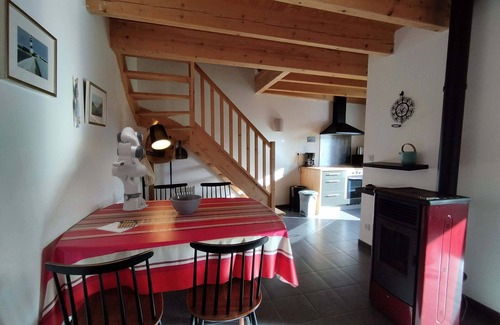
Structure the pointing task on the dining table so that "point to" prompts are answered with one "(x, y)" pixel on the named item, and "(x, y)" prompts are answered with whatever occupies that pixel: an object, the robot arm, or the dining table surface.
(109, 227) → the mat
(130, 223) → the ammunition clip
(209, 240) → the dining table surface
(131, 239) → the dining table surface
